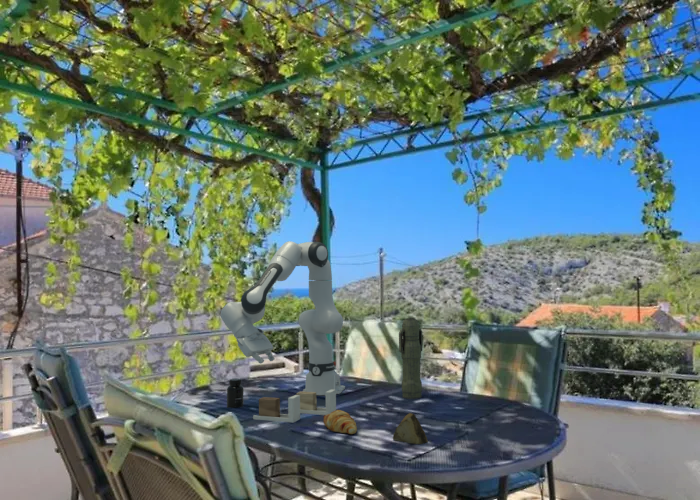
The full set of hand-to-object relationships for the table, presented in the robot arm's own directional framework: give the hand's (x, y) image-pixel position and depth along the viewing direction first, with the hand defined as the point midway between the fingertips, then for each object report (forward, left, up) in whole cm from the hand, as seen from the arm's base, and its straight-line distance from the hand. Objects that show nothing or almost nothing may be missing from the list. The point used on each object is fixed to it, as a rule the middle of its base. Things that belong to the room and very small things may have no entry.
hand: (267, 361), depth 236 cm
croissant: (+16, +38, -21) cm, 46 cm away
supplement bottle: (-2, -17, -21) cm, 27 cm away
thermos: (-45, +48, -21) cm, 69 cm away
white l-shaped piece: (-1, +20, -20) cm, 29 cm away
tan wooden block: (-1, +17, -19) cm, 26 cm away
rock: (+23, +65, -21) cm, 73 cm away
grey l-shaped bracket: (+13, +11, -20) cm, 27 cm away
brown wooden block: (+13, +8, -19) cm, 25 cm away
